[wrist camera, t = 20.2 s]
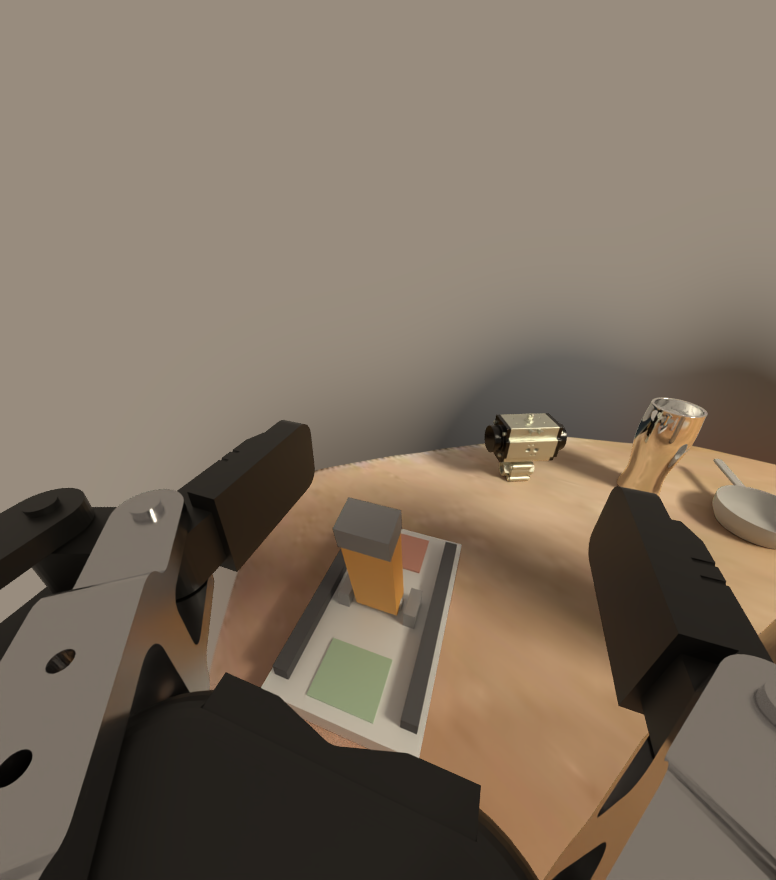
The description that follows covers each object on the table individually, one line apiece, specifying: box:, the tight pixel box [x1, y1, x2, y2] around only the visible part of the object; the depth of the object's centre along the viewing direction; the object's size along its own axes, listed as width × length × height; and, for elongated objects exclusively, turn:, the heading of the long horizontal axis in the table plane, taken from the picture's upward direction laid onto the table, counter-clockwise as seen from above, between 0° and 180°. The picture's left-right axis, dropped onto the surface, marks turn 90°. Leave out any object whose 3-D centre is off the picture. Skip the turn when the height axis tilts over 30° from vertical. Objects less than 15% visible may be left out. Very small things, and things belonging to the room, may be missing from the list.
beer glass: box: [617, 398, 707, 496], centre depth 53 cm, size 7×7×15 cm
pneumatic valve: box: [485, 413, 567, 481], centre depth 56 cm, size 6×12×12 cm, turn 95°
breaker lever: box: [333, 497, 404, 616], centre depth 31 cm, size 3×5×15 cm, turn 71°
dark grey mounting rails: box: [273, 542, 457, 734], centre depth 36 cm, size 19×13×1 cm
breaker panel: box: [261, 529, 462, 758], centre depth 36 cm, size 22×14×4 cm, turn 161°
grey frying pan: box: [712, 459, 776, 549], centre depth 52 cm, size 11×18×4 cm, turn 165°
